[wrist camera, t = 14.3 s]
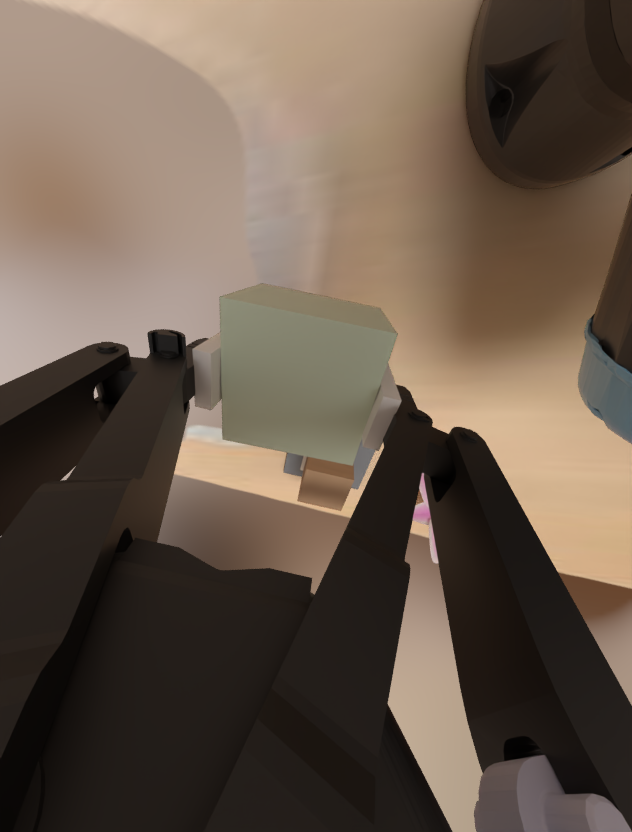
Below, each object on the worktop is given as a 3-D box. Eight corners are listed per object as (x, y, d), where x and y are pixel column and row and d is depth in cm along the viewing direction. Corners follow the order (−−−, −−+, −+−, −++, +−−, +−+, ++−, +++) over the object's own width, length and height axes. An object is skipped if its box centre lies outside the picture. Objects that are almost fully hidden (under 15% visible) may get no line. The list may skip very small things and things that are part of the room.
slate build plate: (295, 418, 36) (294, 420, 35) (379, 438, 36) (379, 440, 35) (284, 469, 41) (283, 472, 40) (357, 486, 41) (357, 489, 41)
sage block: (262, 283, 15) (219, 296, 10) (380, 308, 15) (397, 333, 10) (256, 389, 19) (222, 439, 14) (350, 409, 19) (352, 465, 14)
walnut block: (311, 439, 36) (306, 469, 31) (352, 449, 37) (354, 480, 31) (303, 469, 40) (297, 501, 34) (341, 478, 40) (341, 510, 35)
